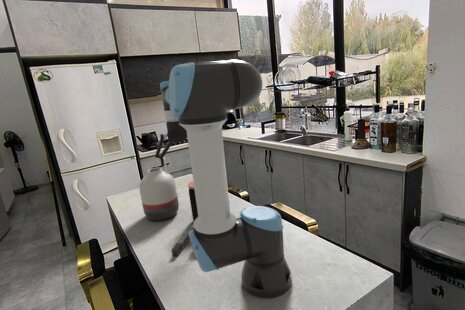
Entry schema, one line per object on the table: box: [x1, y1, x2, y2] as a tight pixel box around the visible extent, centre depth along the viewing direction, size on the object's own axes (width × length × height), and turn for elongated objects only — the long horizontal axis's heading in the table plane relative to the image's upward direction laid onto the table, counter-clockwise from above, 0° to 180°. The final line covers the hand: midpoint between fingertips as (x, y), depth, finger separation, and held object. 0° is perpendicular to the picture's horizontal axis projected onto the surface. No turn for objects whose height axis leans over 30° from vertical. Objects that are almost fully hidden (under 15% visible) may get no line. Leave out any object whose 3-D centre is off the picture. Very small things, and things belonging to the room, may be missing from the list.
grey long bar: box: [171, 222, 194, 257], centre depth 112 cm, size 20×5×3 cm, turn 165°
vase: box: [138, 167, 180, 222], centre depth 135 cm, size 17×17×24 cm
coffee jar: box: [187, 180, 198, 222], centre depth 127 cm, size 11×11×18 cm
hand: (182, 170), depth 119 cm, fingers open, 13 cm apart
